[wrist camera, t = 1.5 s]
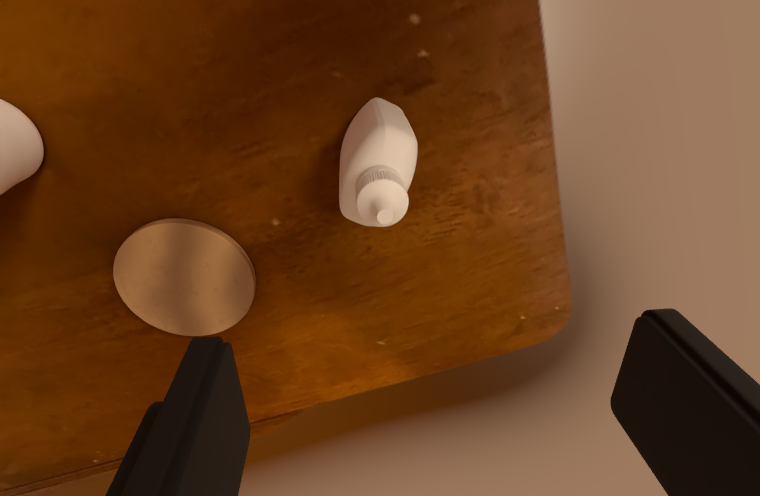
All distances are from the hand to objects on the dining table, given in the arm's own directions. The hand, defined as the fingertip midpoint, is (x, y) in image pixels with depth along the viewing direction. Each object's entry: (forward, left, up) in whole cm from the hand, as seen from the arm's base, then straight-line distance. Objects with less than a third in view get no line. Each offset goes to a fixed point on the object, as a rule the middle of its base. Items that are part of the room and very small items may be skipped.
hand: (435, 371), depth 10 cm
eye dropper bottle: (0, 0, -22) cm, 22 cm away
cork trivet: (+14, +10, -22) cm, 28 cm away
